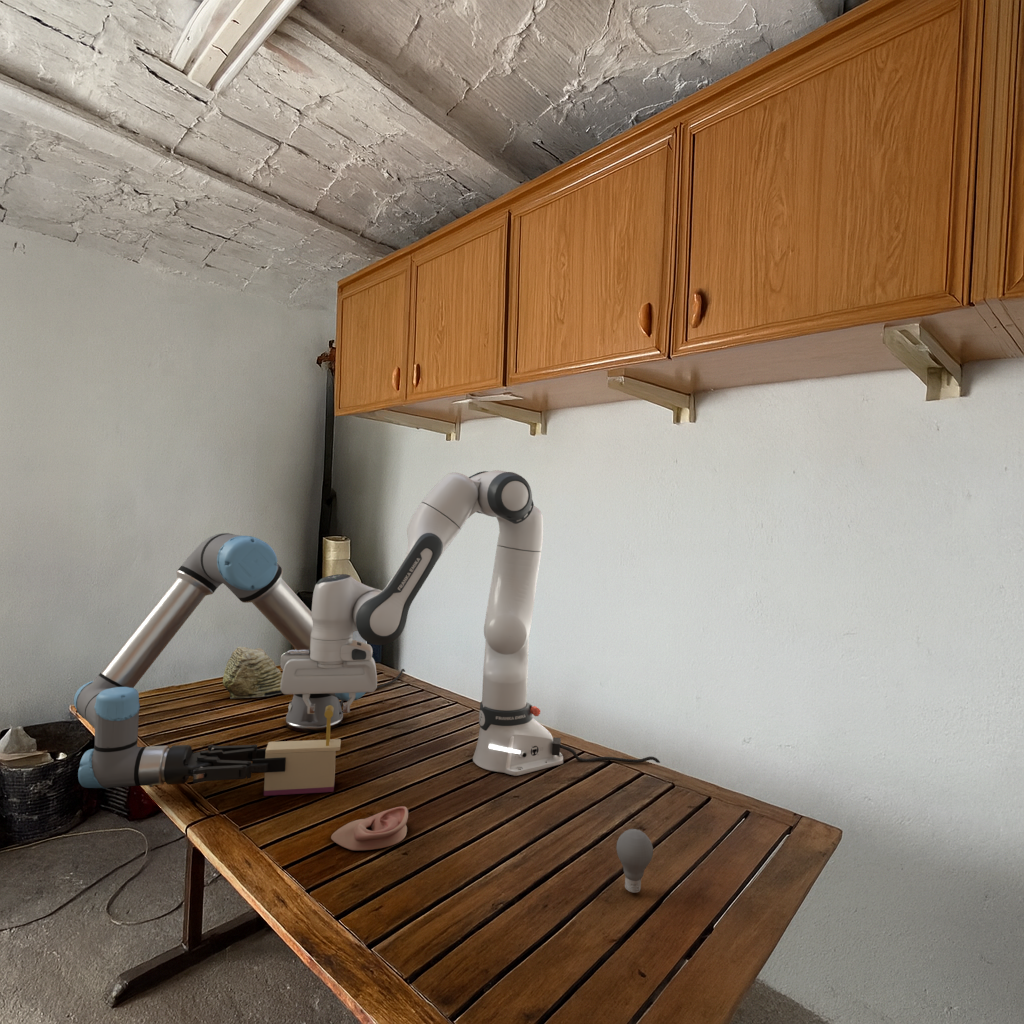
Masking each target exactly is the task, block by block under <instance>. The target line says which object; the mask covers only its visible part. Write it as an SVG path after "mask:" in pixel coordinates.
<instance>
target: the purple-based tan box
mask: <svg viewBox="0 0 1024 1024" xmlns="http://www.w3.org/2000/svg"><path fill="white" fill-rule="evenodd" d="M336 753H337V751H318V752H295V753H272V754H265V758H284V757H286V764H285V772H266V773H264V782H263V783H264V784H263V797H269V796H284V795H286V796H287V795H301V794H319V793H333V792H334V791H335V782H336V781H335V779H336V778H335V777H336V755H337V754H336Z"/></svg>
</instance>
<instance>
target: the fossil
mask: <svg viewBox="0 0 1024 1024" xmlns="http://www.w3.org/2000/svg"><path fill="white" fill-rule="evenodd" d="M282 674H283V672H281V669H279V668H278V667H277V665H276V663H275V662H274V660H273V659H272V658H271V657H270V656H269V655H268V654H267V653H266V652H265V650H264V649H263V648H260V647H258V648H251V647H247V646H246V647H245V646H238V647H237V648H236V649H235V650H233V651H232V653H231V656H230V657H229V659H228V660H227V663H226V666H225V668H224V671H223V675H222V676H223V677H222V685H223V687H224V688H225V690H226V691H228V693H229V698H230V699H250V698H264V697H271V696H275V695H281V694H283V693H282V692H281V690H280V687H281V679H282Z"/></svg>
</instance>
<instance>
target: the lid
mask: <svg viewBox="0 0 1024 1024" xmlns="http://www.w3.org/2000/svg"><path fill="white" fill-rule="evenodd" d="M333 711H334V708H333V706H331V705H329V706H327V707H326V708H325V714H324V715H325V717H326V718H327V730H325V731H326V733H325V739H309V740H308V739H307V740H306V739H305V740H287V741H286V740H284V741H283V740H281V741H268V743H267V745H266V748H265V749H266V754H272V753H295V752H318V751H336V752H338V751H340V750H341V744H342V739H341V738H334V739H333V738H332V739H331V729H330V726H331V717H332V716H333Z"/></svg>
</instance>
